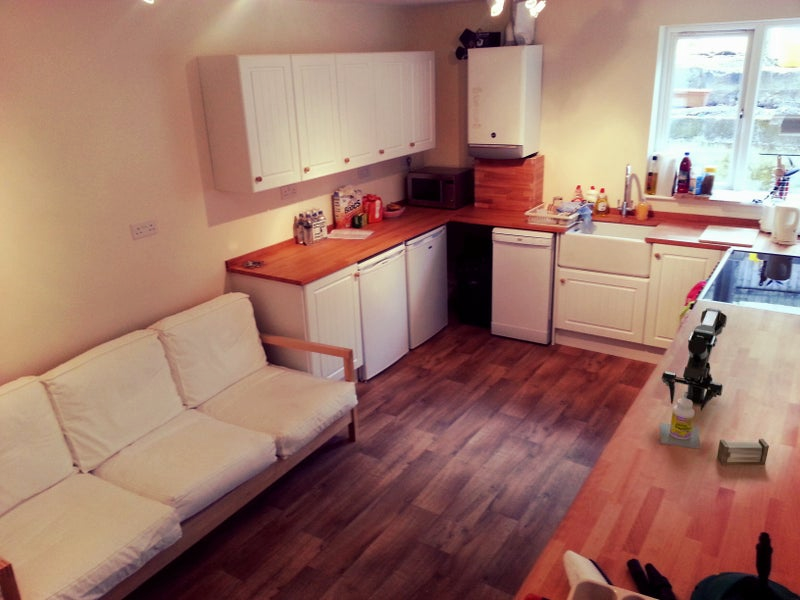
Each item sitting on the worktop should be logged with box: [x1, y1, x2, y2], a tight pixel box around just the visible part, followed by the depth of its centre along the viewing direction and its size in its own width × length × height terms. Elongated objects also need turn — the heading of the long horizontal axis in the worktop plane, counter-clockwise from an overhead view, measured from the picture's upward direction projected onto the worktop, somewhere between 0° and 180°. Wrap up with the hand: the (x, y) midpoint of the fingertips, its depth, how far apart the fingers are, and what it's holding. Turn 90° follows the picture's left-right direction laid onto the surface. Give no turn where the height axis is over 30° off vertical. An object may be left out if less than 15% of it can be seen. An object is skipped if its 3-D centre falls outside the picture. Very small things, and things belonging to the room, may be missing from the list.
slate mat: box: [659, 422, 701, 450], centre depth 218 cm, size 12×12×1 cm
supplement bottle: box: [670, 397, 696, 440], centre depth 216 cm, size 7×7×13 cm
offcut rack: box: [716, 438, 770, 467], centre depth 204 cm, size 4×13×7 cm, turn 88°
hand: (686, 407), depth 220 cm, fingers open, 9 cm apart
